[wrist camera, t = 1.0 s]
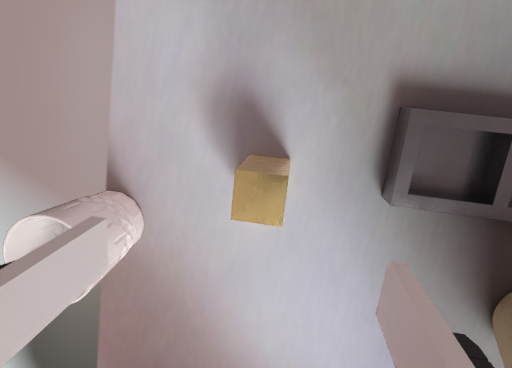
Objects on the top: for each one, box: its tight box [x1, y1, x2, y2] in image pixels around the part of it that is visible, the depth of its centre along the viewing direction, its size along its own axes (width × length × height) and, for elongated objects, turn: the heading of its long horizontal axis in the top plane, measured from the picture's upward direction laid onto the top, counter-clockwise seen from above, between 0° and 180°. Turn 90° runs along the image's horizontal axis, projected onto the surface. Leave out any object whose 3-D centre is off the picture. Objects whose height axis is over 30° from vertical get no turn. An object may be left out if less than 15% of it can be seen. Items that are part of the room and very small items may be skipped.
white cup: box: [3, 190, 144, 304], centre depth 31 cm, size 8×8×10 cm
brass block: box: [231, 154, 290, 227], centre depth 28 cm, size 4×4×8 cm
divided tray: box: [382, 108, 512, 222], centre depth 28 cm, size 8×18×3 cm, turn 84°
